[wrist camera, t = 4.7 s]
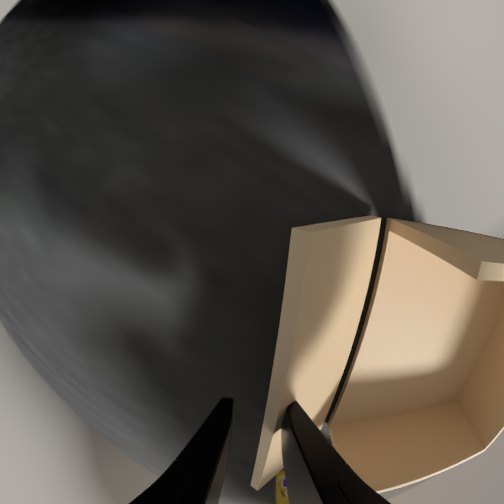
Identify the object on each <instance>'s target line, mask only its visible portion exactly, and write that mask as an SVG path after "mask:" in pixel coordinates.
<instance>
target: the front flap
mask: <svg viewBox="0 0 504 504" xmlns="http://www.w3.org/2000/svg"><path fill="white" fill-rule="evenodd" d="M380 224H381V218H380V217H376V216H371V215H370V216H363V217H357V218H350V219H344V220H338V221H331V222H325V223H319V224H313V225H307V226H300V227H294V228H292V229H291V238H290V247H289V256H288V264H287V272H286V280H285V288H284V295H283V302H282V310H281V317H280V324H279V331H278V337H277V344H276V350H275V357H274V363H273V369H272V375H271V381H270V387H269V393H268V399H267V405H266V410H265V416H264V421H263V426H262V432H261V437H260V442H259V447H258V452H257V457H256V462H255V466H254V471H253V476H252V480H251V485H250V486H252V487H253V488H255V489H256V490H257V491H258V490H259V489H260V488H261V487H263V486H264V485H265V484H266V483H267V482H268V481H270V480H271V479H272V478H273V477H274V476H275V475H276V474H277V473H278V472H280V471H281V470H282V469H283V468H284V466H283V460H282V450H281V427H282V423H283V419H284V415H285V411H286V408H287V406H288V405H290V404H291V403H292V402H294V401H295V400H296V401H297V402H298V403H299V404H300V406H301V407H302V408H303V409H304V411H305V412H306V413H307V415H308V416H309V417H310V418H311V420H312V421H313V422H314V423H315V425H316V426H317V427H318V428H319V430H321V428H322V426H323V423H324V421H325V419H326V416H327V414H328V412H329V409H330V407H331V404H332V402H333V399H334V396H335V394H336V391H337V389H338V386H339V383H340V380H341V378H342V375H343V372H344V369H345V366H346V363H347V360H348V357H349V354H350V351H351V348H352V345H353V341H354V338H355V335H356V331H357V328H358V324H359V321H360V317H361V314H362V310H363V306H364V302H365V298H366V294H367V290H368V286H369V281H370V277H371V272H372V268H373V263H374V258H375V253H376V247H377V242H378V236H379V230H380Z"/></svg>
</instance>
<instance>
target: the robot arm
mask: <svg viewBox="0 0 504 504" xmlns="http://www.w3.org/2000/svg"><path fill="white" fill-rule="evenodd" d="M233 404H234V399H233V398H227V397H222V398H221V399H220V401H219V402H218V404H217V405H216V406H215V408H214V409H213V410H212V412H211V413H210V415H209V416H208V417H207V419H206V420H205V421H204V423H203V424H202V425H201V427H200V428H199V429H198V431H197V432H196V433H195V435H194V436H193V437H192V439H191V440H190V441H189V442H188V444H187V445H186V446H185V448H184V449H183V450H182V451H181V453H180V454H179V455H178V456H177V458H176V460H174V461H173V463H172V464H171V465H170V466H169V467H168V469H167V470H166V471H165V472H164V473H163V474H162V475H161V476H160V477H159V478H158V479H157V480H156V481H155V482H154V483H153V484H152V485H151V486H150V487H149V488H147V489H146V490H145V491H144V492H143V493H141V494H140V495H139V496H138V497H136V498H135V499H134V500H133V501H132V502H130V503H129V504H218V501H219V497H220V493H221V489H222V485H223V480H224V476H225V472H226V467H227V463H228V459H229V454H230V447H231V434H232V420H233ZM281 450H282V460H283V466H284V473H285V479H286V486H287V492H288V499H289V504H391V503H389V502H388V501H387V500H386V499H384V498H383V497H382V496H381V495H379V494H378V493H377V492H376V491H375V490H373V489H372V488H371V487H370V486H369V485H368V484H366V483H365V482H364V481H363V480H362V479H361V478H360V477H359V476H358V475H357V474H356V473H355V472H354V470H353V469H352V468H351V467H350V466H349V465H348V464H347V463H346V461H345V460H344V459H343V458H342V457H341V455H340V454H339V453H338V452H337V451H336V449H335V448H334V447H333V446H332V444H331V443H330V442H329V441H328V440H327V438H326V437H325V436H324V435H323V433H322V432H321V431H320V430H319V428H318V427H317V426H316V425H315V423H314V422H313V421H312V420H311V418H310V417H309V416H308V415H307V413H306V412H305V411H304V409H303V408H302V407H301V406H300V404H299V403H298V402H297V401H296V400H295V401H294V402H292V403H291V404H290V405H288V406H287V408H286V411H285V415H284V419H283V423H282V427H281Z"/></svg>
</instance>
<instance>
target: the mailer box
mask: <svg viewBox="0 0 504 504" xmlns="http://www.w3.org/2000/svg"><path fill="white" fill-rule="evenodd" d="M328 429H329V433H330V437H331V442H332V446H333V447H334V448H335V449H336V451H337V452H338V453H339V454H340V455H341V457H342V458H343V459H344V460H345V461H346V463H347V464H348V465H349V466H350V467H351V468H352V469H353V470H354V472H355V473H356V474H357V475H358V476H359V477H360V478H361V479H362V480H363V481H364V482H365V483H366V484H368V485H369V486H370V487H371V488H372V489H373V490H375V491H376V492H377V493H382V492H386V491H390V490H393V489H396V488H400V487H403V486H406V485H409V484H412V483H415V482H418V481H421V480H423V479H426V478H429V477H431V476H434V475H436V474H439V473H441V472H443V471H446V470H448V469H450V468H452V467H455V466H457V465H459V464H461V463H463V462H465V461H467V460H469V459H471V458H473V457H475V456H477V455H478V454H480V453H482V452H484V451H485V450H486V449H487V448H488V447H489V446H490V445H491V443H492V442H493V441H494V440H495V439H496V438H497V437H498V436H499V434H500V433H501V432H502V431H503V429H504V239H501V238H496V237H491V236H487V235H482V234H477V233H473V232H468V231H463V230H457V229H452V228H447V227H442V226H436V225H430V224H425V223H419V222H413V221H406V220H400V219H393V218H387V222H386V228H385V234H384V240H383V245H382V251H381V256H380V261H379V265H378V270H377V275H376V279H375V283H374V288H373V292H372V296H371V300H370V303H369V307H368V311H367V315H366V318H365V322H364V325H363V329H362V332H361V335H360V338H359V342H358V345H357V348H356V351H355V354H354V357H353V360H352V363H351V366H350V369H349V371H348V374H347V377H346V380H345V382H344V385H343V387H342V390H341V393H340V395H339V398H338V400H337V403H336V405H335V407H334V410H333V412H332V415H331V417H330V419H329V421H328Z"/></svg>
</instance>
